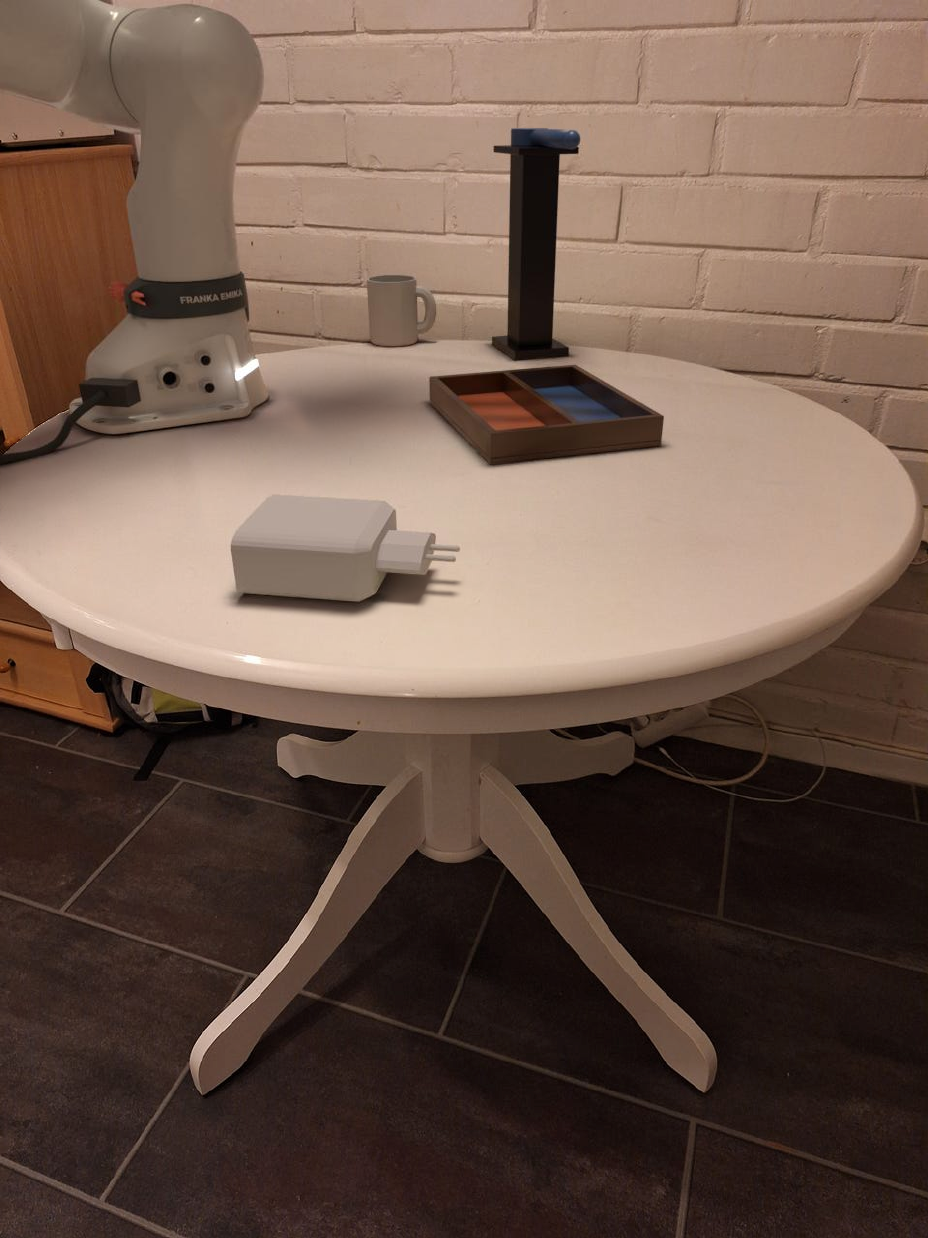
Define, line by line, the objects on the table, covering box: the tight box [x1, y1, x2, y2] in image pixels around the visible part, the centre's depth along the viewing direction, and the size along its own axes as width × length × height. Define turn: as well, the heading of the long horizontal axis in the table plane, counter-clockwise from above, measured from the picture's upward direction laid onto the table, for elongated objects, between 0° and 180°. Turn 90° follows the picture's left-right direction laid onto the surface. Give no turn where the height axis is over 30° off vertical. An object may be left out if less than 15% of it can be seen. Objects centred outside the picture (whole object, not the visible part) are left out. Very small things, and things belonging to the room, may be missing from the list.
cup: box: [366, 274, 437, 348], centre depth 133 cm, size 7×10×9 cm
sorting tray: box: [428, 364, 665, 465], centre depth 99 cm, size 23×18×3 cm
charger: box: [230, 493, 461, 602], centre depth 66 cm, size 5×9×15 cm
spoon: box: [510, 127, 581, 149], centre depth 113 cm, size 18×5×2 cm, turn 17°
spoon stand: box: [491, 144, 580, 361], centre depth 124 cm, size 10×8×26 cm
